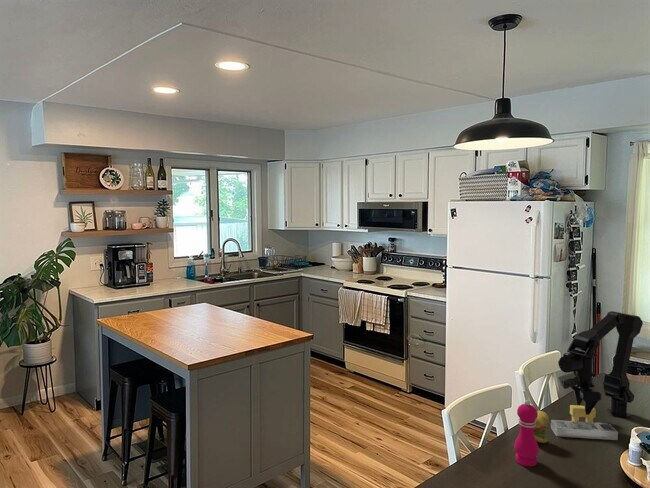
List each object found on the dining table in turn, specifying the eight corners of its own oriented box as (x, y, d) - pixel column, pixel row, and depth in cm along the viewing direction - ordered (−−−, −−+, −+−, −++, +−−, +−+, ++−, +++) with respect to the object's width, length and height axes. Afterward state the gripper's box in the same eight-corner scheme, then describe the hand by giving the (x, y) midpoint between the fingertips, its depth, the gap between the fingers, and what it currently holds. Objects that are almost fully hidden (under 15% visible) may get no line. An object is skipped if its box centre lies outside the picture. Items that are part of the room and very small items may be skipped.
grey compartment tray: (556, 436, 174) (556, 427, 174) (550, 427, 181) (550, 419, 181) (617, 440, 171) (617, 431, 171) (609, 431, 178) (609, 423, 178)
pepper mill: (540, 468, 152) (542, 405, 151) (516, 466, 154) (517, 403, 152) (535, 457, 159) (537, 396, 158) (512, 455, 161) (513, 395, 160)
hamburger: (552, 446, 167) (553, 411, 166) (532, 447, 166) (533, 412, 165) (540, 436, 174) (541, 403, 174) (521, 437, 174) (522, 403, 173)
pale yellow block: (572, 423, 185) (572, 408, 184) (569, 420, 188) (570, 404, 187) (595, 425, 184) (595, 409, 183) (592, 421, 186) (592, 406, 186)
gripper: (553, 360, 195) (552, 399, 196) (569, 375, 176) (568, 418, 177) (583, 361, 193) (582, 400, 194) (602, 377, 175) (601, 420, 176)
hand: (582, 409), depth 185 cm, fingers open, 9 cm apart
